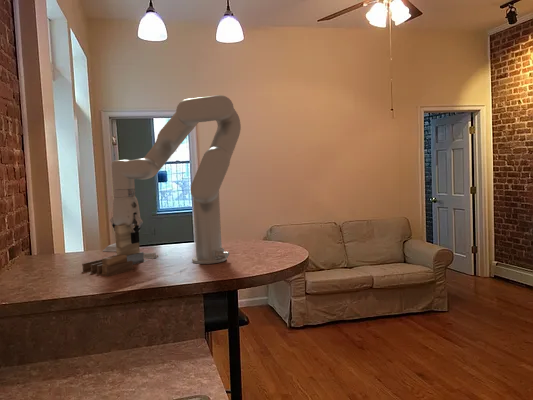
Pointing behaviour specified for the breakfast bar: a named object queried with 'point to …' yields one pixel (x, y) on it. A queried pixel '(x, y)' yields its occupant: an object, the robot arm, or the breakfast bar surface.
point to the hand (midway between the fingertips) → (127, 242)
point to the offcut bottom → (104, 270)
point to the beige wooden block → (125, 241)
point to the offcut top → (114, 260)
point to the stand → (136, 258)
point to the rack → (96, 267)
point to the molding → (146, 255)
